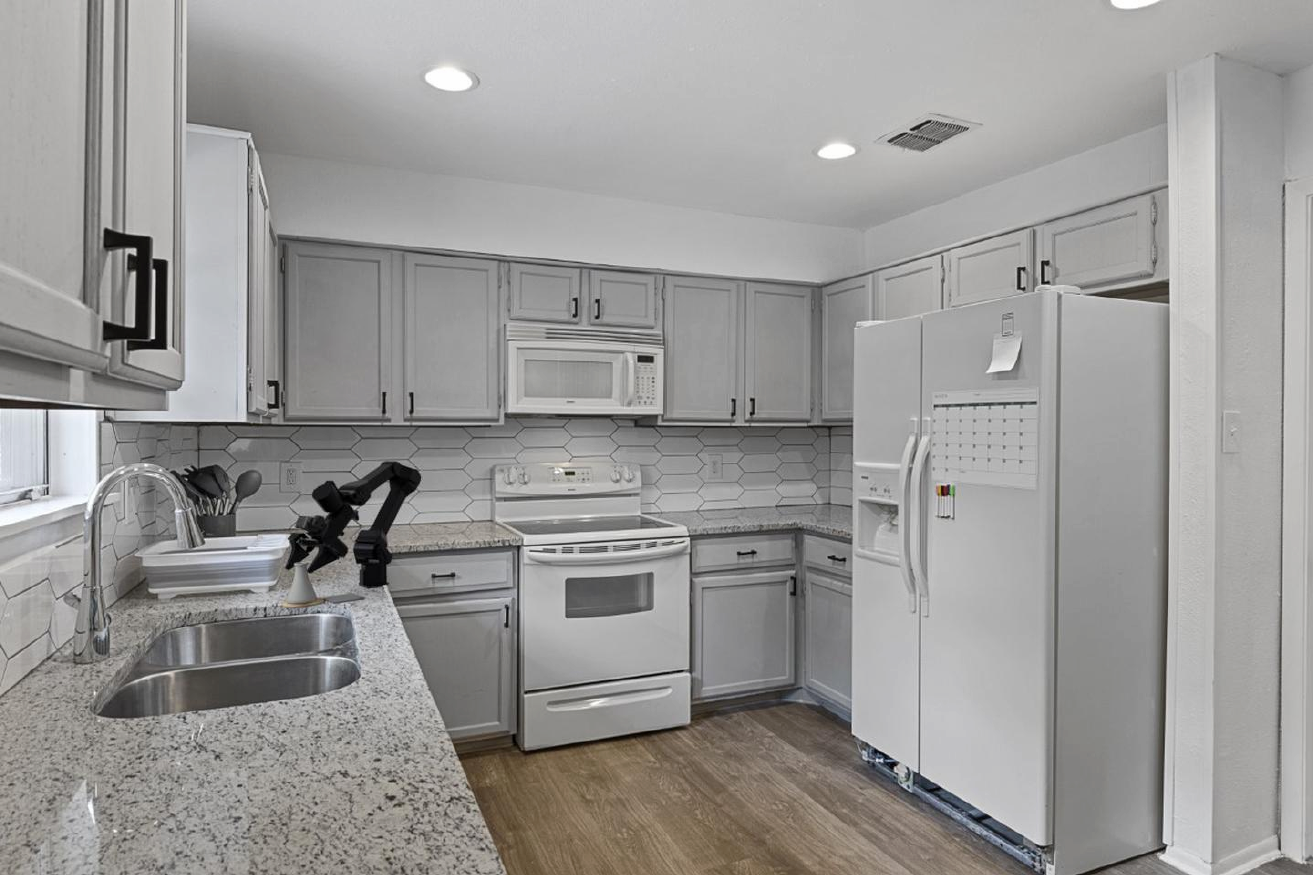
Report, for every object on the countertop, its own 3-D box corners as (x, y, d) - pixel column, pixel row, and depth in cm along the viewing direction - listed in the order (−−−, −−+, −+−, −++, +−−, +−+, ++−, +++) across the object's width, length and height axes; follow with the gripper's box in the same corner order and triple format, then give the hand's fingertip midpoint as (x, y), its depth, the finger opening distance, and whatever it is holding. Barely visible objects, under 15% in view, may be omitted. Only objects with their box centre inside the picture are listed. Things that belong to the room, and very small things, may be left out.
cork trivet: (315, 597, 209) (315, 595, 209) (329, 603, 202) (329, 601, 202) (275, 602, 203) (275, 601, 203) (288, 609, 195) (288, 607, 195)
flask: (323, 599, 205) (322, 561, 205) (304, 605, 198) (304, 565, 198) (299, 598, 207) (298, 560, 206) (279, 604, 199) (279, 564, 199)
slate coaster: (352, 594, 212) (352, 593, 212) (364, 599, 207) (364, 597, 207) (322, 598, 207) (322, 597, 207) (333, 603, 201) (333, 602, 201)
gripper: (294, 502, 210) (254, 548, 201) (337, 505, 200) (298, 554, 191) (320, 528, 217) (283, 574, 208) (364, 532, 207) (327, 581, 198)
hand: (297, 570), depth 201 cm, fingers open, 9 cm apart
